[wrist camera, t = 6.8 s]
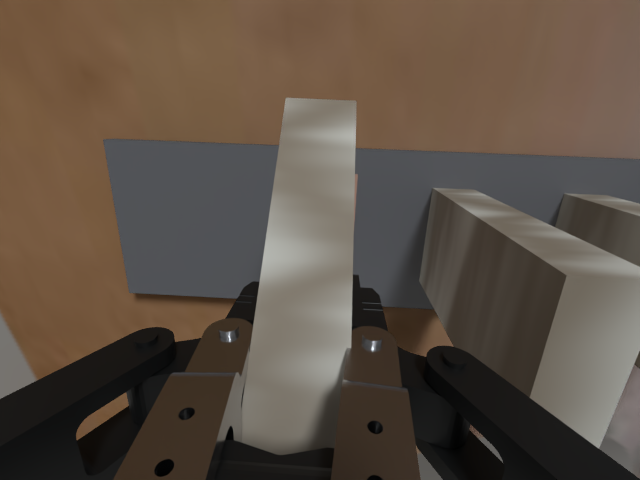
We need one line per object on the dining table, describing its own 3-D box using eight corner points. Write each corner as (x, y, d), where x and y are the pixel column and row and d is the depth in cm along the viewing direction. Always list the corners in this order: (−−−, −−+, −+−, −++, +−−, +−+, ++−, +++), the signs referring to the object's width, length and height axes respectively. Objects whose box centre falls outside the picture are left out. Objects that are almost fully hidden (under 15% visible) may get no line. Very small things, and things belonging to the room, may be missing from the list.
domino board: (947, 171, 19) (983, 173, 18) (849, 324, 22) (874, 334, 21) (113, 138, 20) (102, 139, 19) (137, 286, 24) (128, 293, 23)
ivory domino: (474, 189, 19) (668, 280, 8) (456, 283, 21) (593, 461, 10) (432, 188, 19) (566, 275, 8) (419, 280, 21) (512, 456, 10)
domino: (356, 100, 11) (346, 567, 6) (344, 196, 17) (334, 486, 12) (285, 97, 11) (219, 557, 6) (296, 193, 17) (266, 482, 12)
